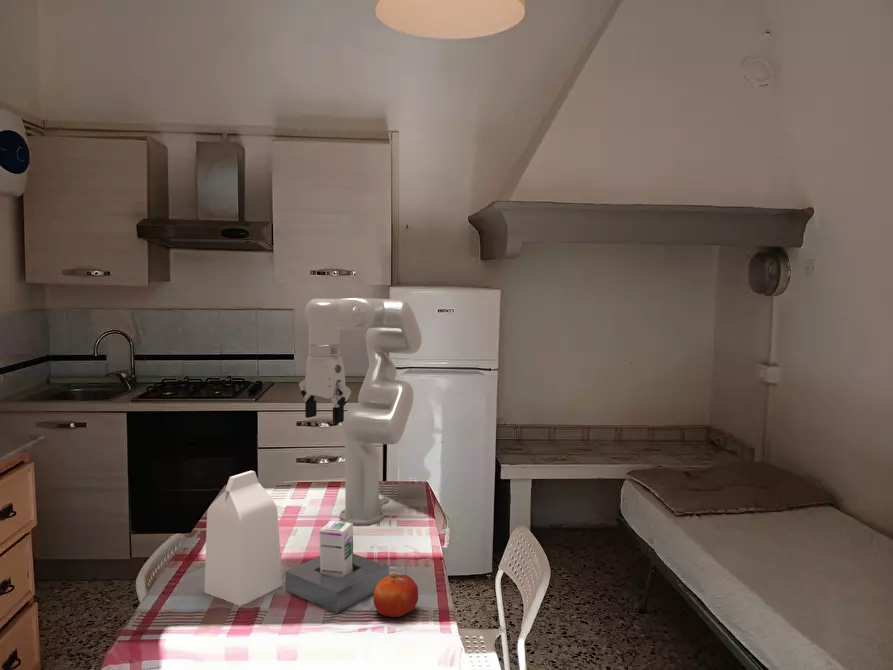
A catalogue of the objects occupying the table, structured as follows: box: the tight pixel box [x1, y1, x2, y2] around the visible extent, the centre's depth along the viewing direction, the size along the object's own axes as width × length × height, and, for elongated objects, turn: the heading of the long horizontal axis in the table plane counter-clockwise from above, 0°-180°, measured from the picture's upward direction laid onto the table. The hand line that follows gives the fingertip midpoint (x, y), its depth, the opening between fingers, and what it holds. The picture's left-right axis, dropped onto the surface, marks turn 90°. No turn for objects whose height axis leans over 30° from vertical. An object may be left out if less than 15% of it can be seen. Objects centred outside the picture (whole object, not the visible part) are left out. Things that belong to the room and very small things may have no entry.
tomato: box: [372, 573, 419, 618], centre depth 143 cm, size 9×9×8 cm
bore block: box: [285, 553, 390, 614], centre depth 153 cm, size 16×16×4 cm
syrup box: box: [319, 520, 354, 580], centre depth 153 cm, size 6×6×14 cm
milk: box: [203, 470, 284, 605], centre depth 151 cm, size 12×12×26 cm
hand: (324, 419), depth 171 cm, fingers open, 9 cm apart
